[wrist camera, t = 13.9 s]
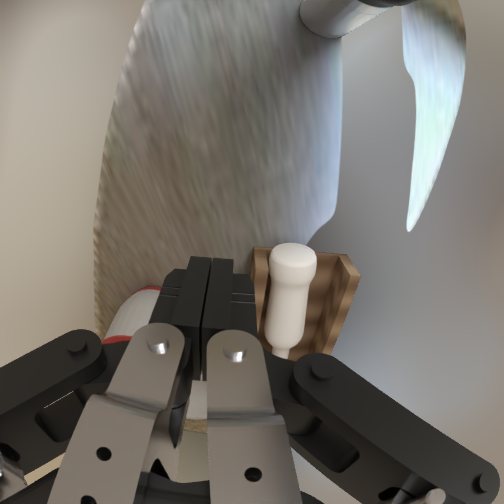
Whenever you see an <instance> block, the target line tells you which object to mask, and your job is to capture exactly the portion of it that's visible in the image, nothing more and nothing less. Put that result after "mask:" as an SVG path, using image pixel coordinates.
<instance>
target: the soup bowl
mask: <svg viewBox="0 0 504 504" xmlns="http://www.w3.org/2000/svg"><path fill="white" fill-rule="evenodd" d="M186 418H187V419H207V381H202V371H201V379H200V381H195V380H192V388H191V394H190V402H189V407H188V411H187V416H186Z"/></svg>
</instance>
